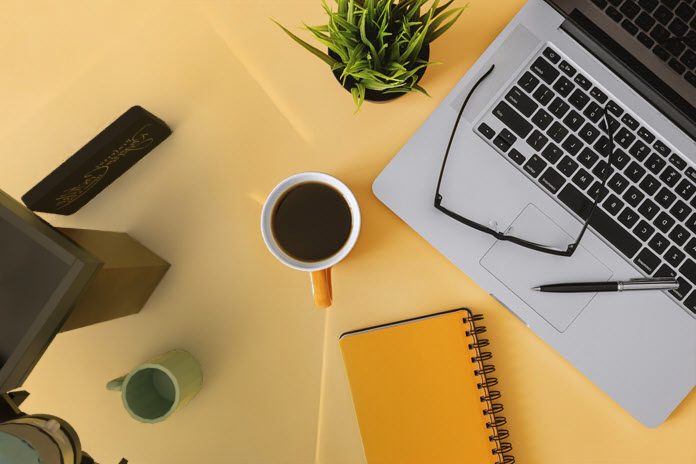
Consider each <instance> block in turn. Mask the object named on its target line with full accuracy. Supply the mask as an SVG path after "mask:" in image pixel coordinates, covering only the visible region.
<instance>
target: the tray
mask: <svg viewBox="0 0 696 464" xmlns="http://www.w3.org/2000/svg"><path fill="white" fill-rule="evenodd" d="M55 227H56V226H54V225H52V224H51V223H50V222H48V221H47V220H46V219H44V218H43V217H42V216H40V215H38V214H37V213H36V212H33V211H31V210H30V209H28V208H27V207H26V205H25V204H24V203H22V202H20V201H19V200H17V199H16V198H14V197H13V196H11V195H10V194H9V193H7V192H6V191H4V190H3V189H2V188H0V395H1V394H4V393H6V392H7V393H9V392H13V391H14V390H17V389H19V388H22V386H24V384H25V382H26V381H27V380H28V378H29V376H30V375H31V374H32V372H33V371H34V369H35V368H36V366H37V364H38V363H39V362H40V360H41V359H42V357H43V356H44V354H45V353H46V352H47V350H48V348H49V347H50V346H51V344H52V343H53V341H54V340H55V338H56V337H57V335H58V332H59V331H60V329H61V328H62V326H63V325H64V323H65V322H66V320H67V319H68V318H69V316H70V315H71V313H72V312H73V310H74V309H75V307H76V306H77V304H78V303H79V301H80V300H81V298H82V297H83V295H84V294H85V292H86V291H87V290H88V288H89V287H90V285H91V284H92V282H93V281H94V279H95V278H96V276H97V275H98V273H99V272H100V270H101V269H102V267H103V266H104V265H105V262H104V261H102V260H101V259H99V258H98V257H96V256H95V255H94V254H92V253H91V252H89V251H88V250H87V249H85V248H84V247H82V246H81V245H79V244H78V243H77V242H75V241H74V240H72V239H71V238H70V237H68V236H67V235H65V234H64V233H62V232H61V231H60V230H58V229H57V228H55Z"/></svg>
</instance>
